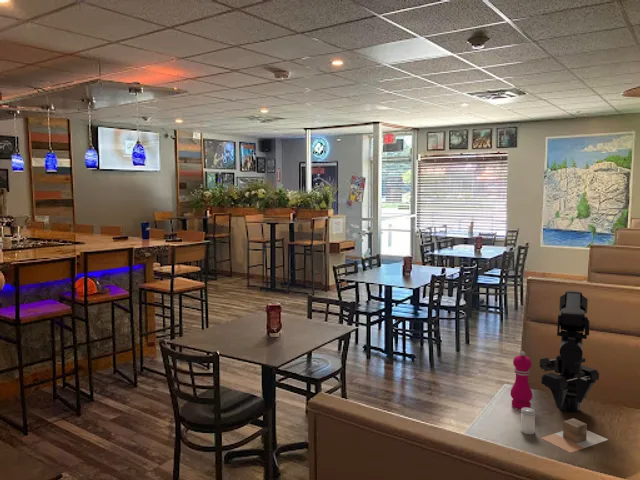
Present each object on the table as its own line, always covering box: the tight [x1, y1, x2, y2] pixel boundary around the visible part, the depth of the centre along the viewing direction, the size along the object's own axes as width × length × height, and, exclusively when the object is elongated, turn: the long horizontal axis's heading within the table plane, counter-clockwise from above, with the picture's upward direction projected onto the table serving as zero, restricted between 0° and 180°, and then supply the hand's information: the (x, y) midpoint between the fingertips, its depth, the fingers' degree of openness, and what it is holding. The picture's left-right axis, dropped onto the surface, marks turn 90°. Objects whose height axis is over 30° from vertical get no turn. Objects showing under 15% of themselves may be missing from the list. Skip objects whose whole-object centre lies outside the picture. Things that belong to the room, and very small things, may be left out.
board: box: [541, 429, 609, 454], centre depth 150 cm, size 17×10×1 cm, turn 117°
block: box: [562, 417, 588, 444], centre depth 150 cm, size 4×4×5 cm
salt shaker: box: [520, 407, 536, 435], centre depth 155 cm, size 4×4×8 cm
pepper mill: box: [510, 350, 533, 411], centre depth 176 cm, size 7×7×20 cm
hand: (569, 405), depth 148 cm, fingers open, 9 cm apart
